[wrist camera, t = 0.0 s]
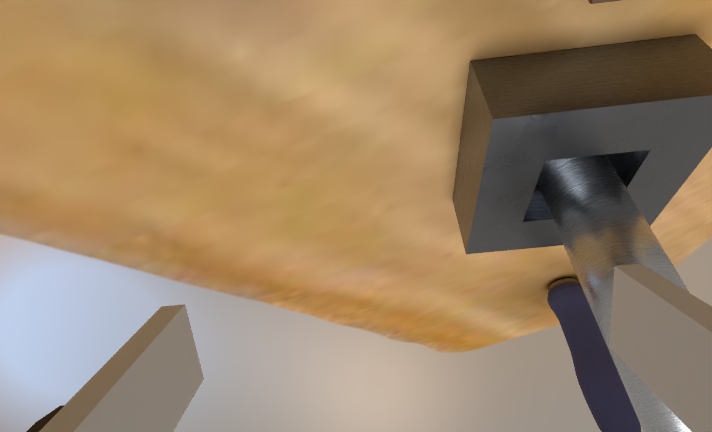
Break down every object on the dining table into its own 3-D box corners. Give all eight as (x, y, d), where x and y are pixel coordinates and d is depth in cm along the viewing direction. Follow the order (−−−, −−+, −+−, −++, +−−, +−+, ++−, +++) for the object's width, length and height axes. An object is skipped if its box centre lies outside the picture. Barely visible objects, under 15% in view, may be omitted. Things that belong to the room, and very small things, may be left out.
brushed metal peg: (537, 132, 24) (681, 432, 15) (607, 125, 24) (800, 424, 14) (523, 178, 28) (632, 450, 18) (584, 172, 27) (729, 444, 17)
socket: (470, 61, 23) (493, 119, 20) (696, 34, 22) (756, 90, 19) (452, 200, 32) (465, 254, 29) (610, 184, 31) (640, 237, 28)
